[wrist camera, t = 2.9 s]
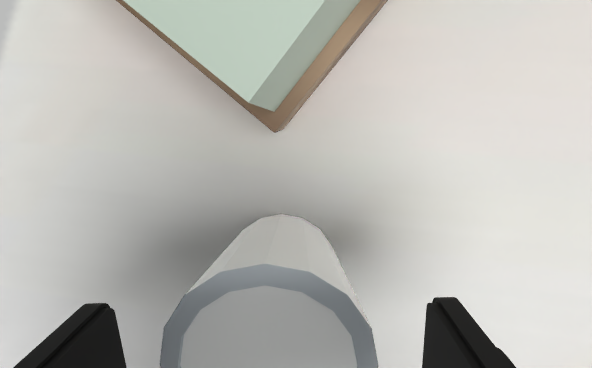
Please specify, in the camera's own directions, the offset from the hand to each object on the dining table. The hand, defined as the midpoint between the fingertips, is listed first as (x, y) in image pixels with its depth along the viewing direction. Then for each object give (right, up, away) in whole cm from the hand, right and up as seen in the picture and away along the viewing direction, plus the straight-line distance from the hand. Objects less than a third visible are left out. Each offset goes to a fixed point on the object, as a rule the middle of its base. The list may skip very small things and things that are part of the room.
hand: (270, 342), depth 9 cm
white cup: (0, 0, +7) cm, 7 cm away
